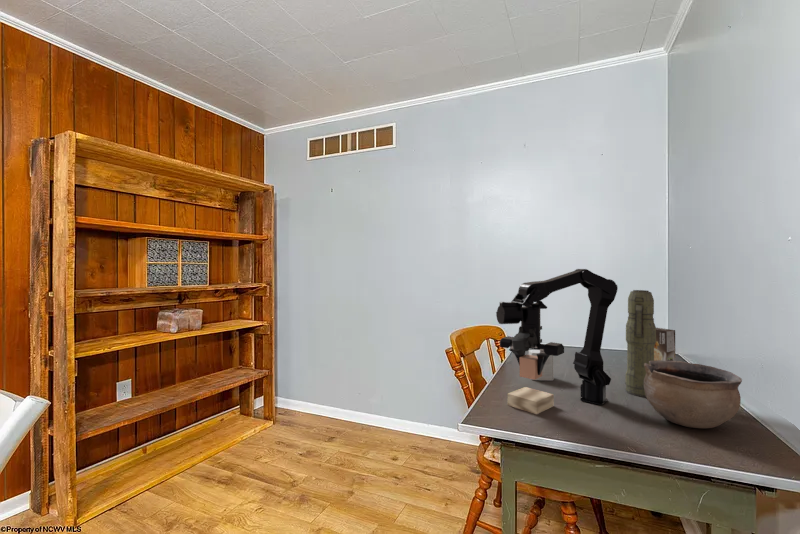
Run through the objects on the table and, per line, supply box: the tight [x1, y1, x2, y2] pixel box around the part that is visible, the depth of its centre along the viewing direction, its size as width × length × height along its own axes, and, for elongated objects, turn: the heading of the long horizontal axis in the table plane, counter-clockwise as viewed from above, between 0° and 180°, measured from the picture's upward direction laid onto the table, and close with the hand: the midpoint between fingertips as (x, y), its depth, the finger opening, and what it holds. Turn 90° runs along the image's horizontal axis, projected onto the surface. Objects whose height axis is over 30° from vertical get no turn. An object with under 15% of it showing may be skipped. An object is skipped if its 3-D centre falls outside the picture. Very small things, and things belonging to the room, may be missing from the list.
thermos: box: [624, 289, 657, 398], centre depth 134 cm, size 9×12×35 cm
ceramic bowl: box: [644, 360, 743, 429], centre depth 109 cm, size 22×22×15 cm
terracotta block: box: [519, 354, 542, 381], centre depth 122 cm, size 5×5×6 cm
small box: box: [528, 349, 554, 381], centre depth 151 cm, size 8×6×10 cm
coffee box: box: [654, 327, 676, 361], centre depth 168 cm, size 9×6×16 cm
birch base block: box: [506, 386, 555, 415], centre depth 122 cm, size 10×10×4 cm
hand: (530, 373), depth 122 cm, fingers closed on terracotta block, 5 cm apart
